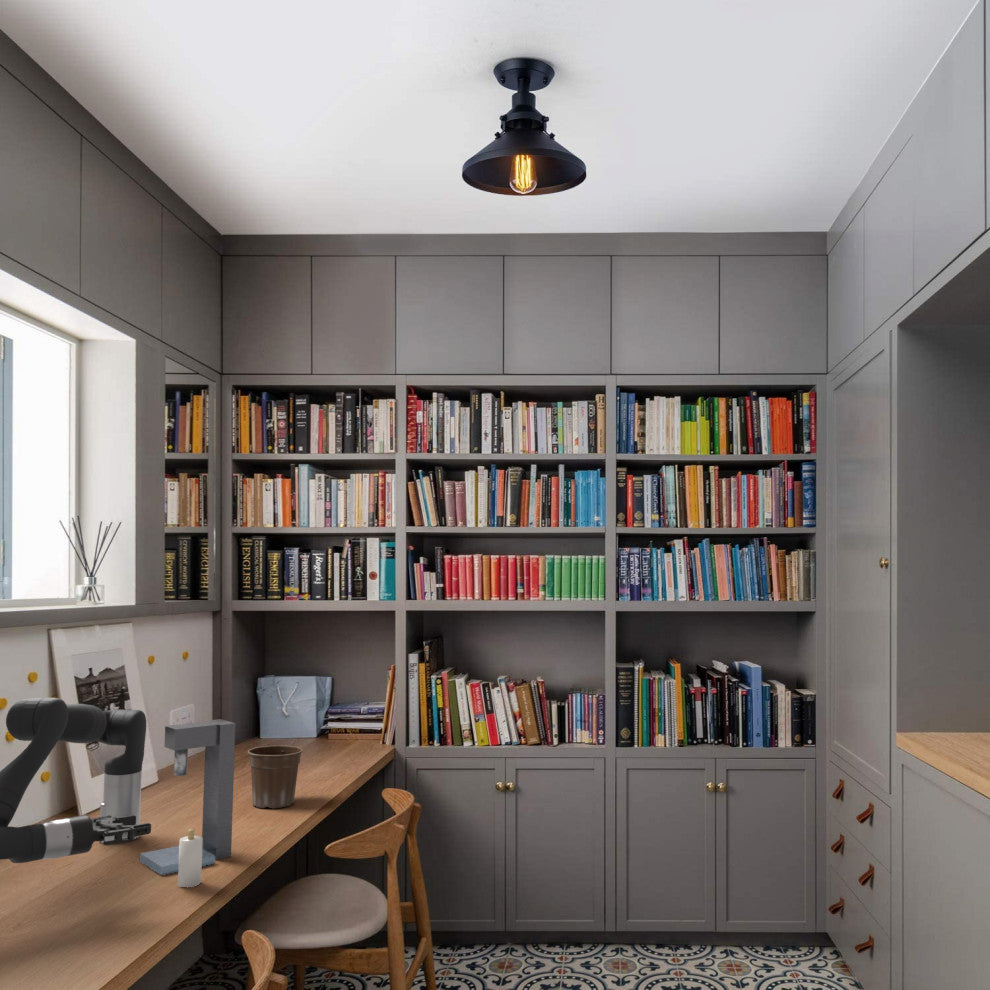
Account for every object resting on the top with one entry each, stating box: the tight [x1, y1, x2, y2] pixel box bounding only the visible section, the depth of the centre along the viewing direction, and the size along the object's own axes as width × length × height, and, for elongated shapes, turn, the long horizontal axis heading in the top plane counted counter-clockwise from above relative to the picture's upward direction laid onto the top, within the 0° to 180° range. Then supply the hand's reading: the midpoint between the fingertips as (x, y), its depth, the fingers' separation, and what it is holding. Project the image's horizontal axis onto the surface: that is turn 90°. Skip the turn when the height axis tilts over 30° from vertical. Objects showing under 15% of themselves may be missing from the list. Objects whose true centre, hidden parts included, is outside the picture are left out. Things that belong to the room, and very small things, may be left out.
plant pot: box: [247, 745, 304, 809], centre depth 277 cm, size 16×16×16 cm
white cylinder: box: [177, 828, 203, 889], centre depth 207 cm, size 5×5×12 cm
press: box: [139, 718, 236, 876], centre depth 228 cm, size 18×22×32 cm
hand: (142, 823), depth 200 cm, fingers open, 8 cm apart
